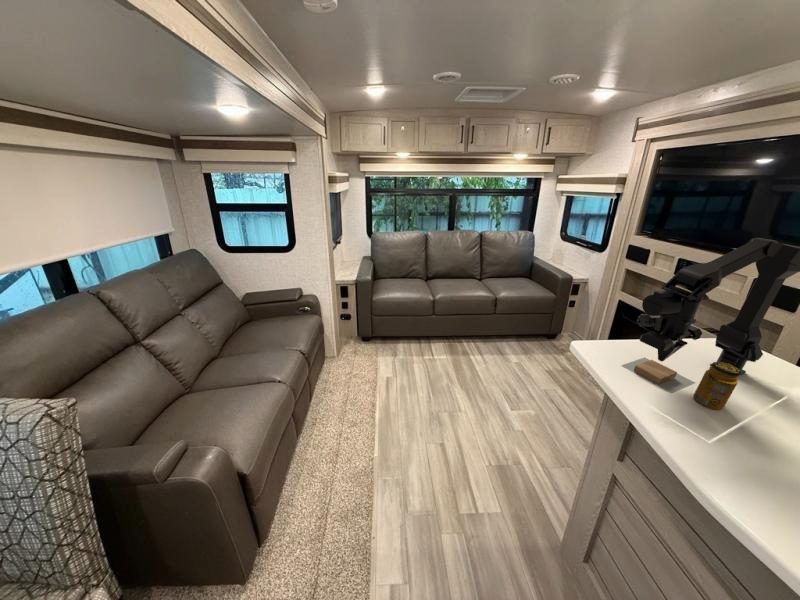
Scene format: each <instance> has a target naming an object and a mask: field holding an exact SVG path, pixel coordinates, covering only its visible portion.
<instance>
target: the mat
mask: <svg viewBox="0 0 800 600" xmlns="http://www.w3.org/2000/svg"><path fill="white" fill-rule="evenodd" d="M649 360H650V359H649V358H646V357H641V358H638V359H635V360H633V361H629V362H628V363H624V364H622V365H620V366H621V367H623V368H624V369H626V370H628V371H629V372H632V373H633V374H636V375H637V376H639V377H641V378H643V379H644V380H646V381H648V382H649V383H652V384H654V385H656V386H657V387H659V388H661V389H662V390H664V391H667V392H668V393H670V394H674V393H675V392H678V391H680V390H682V389H685V388H686V387H687V388H688V386H692V385H694V384H695V383H696V382H695V381H693V380H691V379H690V378H687V377H685V376H683V375H681V374H679V373H677V374H676V377H675V378H673V379H671V380H668V381H666V382H664V383H661V384H657V383H655V382H653V381H651V380H649V379H648V378H646V377H644V376H642V375H640V374H638V373H637V372H635V371H634V368H635V366H636V365H638V364H641V363H644V362H646V361H649Z"/></svg>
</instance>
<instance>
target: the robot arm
mask: <svg viewBox="0 0 800 600" xmlns="http://www.w3.org/2000/svg"><path fill="white" fill-rule="evenodd" d="M754 263H755V267H756V271H757V277H756V279H755V281H754V283H753V285H752V287H751V289H750V290H749V292H748V294H747V296H746V298H745V300H744V302H743V304H742V306H741V307H740V310H738V313H737V315H736V317H735V318H734V320H733V321H731V322H728V323H727V324H725V323H724V324H722V325H720V328H719V330H718V331H717V333H716V334H715V336H716V337H715V343H714V346H715V347H716V348H720V349H721V350H722V351H721V352H720V354H719V356H718V358H717V360H716V362H723V363H727V364H730V365H732V366H734V367H736V368H738V369H739V370H740V372H741V373H740V375H739V376H742V375H744V374H746V373H747V371H746V370H745V369H744V367H745V365H746V364H747V362H750V363H751V362H753V363H756V362H757V361H758V360H760V359H761V358H762V356H763V355H764V353H763V350H762V349H761V347H760V342H761V340H762V337H763V336H762V332H761V330H760V325H761V323H762V321H763V319H764V318H765V316H766V314H767V312H768V311H769V309H770V307H771V305H772V303H774V300H775V298H776V296H777V295H778V293H779V291H780V289H781V287H782V286H783V284H784V282H785V281H786V280H787V279H788V278H790V277H792V276H794V275H796V274H798V273H799V272H800V246H796V245H791V244H785V243H781V242H779V241H777V240H773V239H769V238H768V239H767V238H761V237H754V238H751V239H750V240H748V241H747V242H746V243H745V244H743V245H741V246H739V247H737V248H735V249H733V250H731V251H728V252H727V253H725V254H722V255H721V256H719V257H717V258H715V259H713V260H711V261H708V262H701V263H693V264H692V265H688V266H685V267H682V268H680V270H678V272H676V273H675V274H674V275H673V276H672V277H671V278H670V279H669V280H668V281H667V282H666V283H665V284H664V285H663V286H662V287H661V290H654V291H653V294H649V295H647V296H646V297H644V299H643V300H642V303H641V305H642V307H641V308H642V310H643V312H644V313H642V314H640V315H639V316H637V319H636V320H635V321H636V322H637V324H638V326H639V327H643V328H644V327H647V328H648V327H649V328H654V330H651V331H647V332H644V333H642V334H640V337H639V342H641V343H643V344H645V345H648V346H650V347H651V348H654V349H656V350H657V360H658V361H659V362H665V361H666V360H667V359H669V358H670V357H672V356H673V355H674V354H675V353H677V352H678V351H679V350H681V349H682V348H684V347H685V346H686V345H688V342H687V341H684V340H683V338H686V337H689V336H691V339H692V340H694V341H696V340H699V339H700V338H701V336H702V334H703V332H702V330H701V328H699V327H696V326H695V325H694V326H693V324H695V323H696V322H697V319H696V318H695V316H696V314H697V312H698V309H699V308H700V305H701V303H702V301H707V300H709V299H710V297H709V295H707V293H710V292H712V291H713V290H714V289H716V288H717V287H720V284H721V283H722V280H723V279H724V278H725V277H727V276H729V275H732V274H734V273H735V272H738V271H739V270H741V269H744V268H746V267H748V266H750V265H752V264H754ZM711 364H712V363H710V364H709V367H711Z"/></svg>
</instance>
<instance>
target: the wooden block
mask: <svg viewBox="0 0 800 600" xmlns="http://www.w3.org/2000/svg"><path fill="white" fill-rule="evenodd" d="M634 371H635V372H637V373H638V374H640V375H642V376H644V377H646V378H648V379H649V380H651V381H653V382H655V383H657V384H661V383H664V382H666V381H668V380H671V379H673V378H675V377H676V374H678V372H677V371H676V370H673V369H671V368H670V367H668V366H665V365H663V364H662V363H659V362H657V361H656V360H653V359H649V361H646V362H644V363H641V364H638V365H636V366H635V368H634Z"/></svg>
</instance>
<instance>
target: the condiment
mask: <svg viewBox="0 0 800 600" xmlns="http://www.w3.org/2000/svg"><path fill="white" fill-rule="evenodd" d="M710 364H711V366H709V369H706V371H705V372H704V374H703V376H702V378H701V380H700V382H699V384H698V385H697V387H696V390H695V392H694V393H693V397H692V399H693V400H694V402H696V403H697V404H699V405H700V406H702V407H703V408H706V409H709V410H713V411H721V410H723V408H725V406H726V404H727V403H728V401H729V399H730V398H731V395H732V394H733V392H734V390H736V389H735V388H736V387H737V385H738V383H739V381H738V380H739V377H740V376H741V375H740V373H741V372H740V370H739V369H738V368H736V367H734V366H732V365H730V364H727V363H723V362H717V361H713V362H712V363H710Z"/></svg>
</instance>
